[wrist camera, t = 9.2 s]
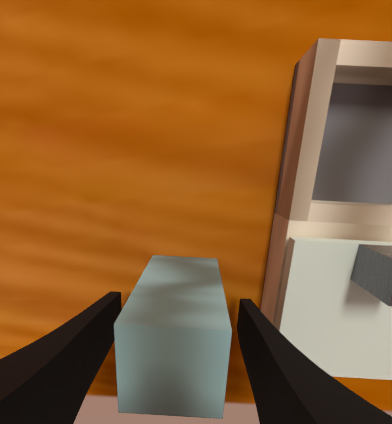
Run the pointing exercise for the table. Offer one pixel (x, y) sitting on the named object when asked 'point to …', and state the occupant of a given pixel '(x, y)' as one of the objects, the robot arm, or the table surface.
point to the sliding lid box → (334, 153)
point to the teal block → (174, 340)
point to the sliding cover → (339, 305)
